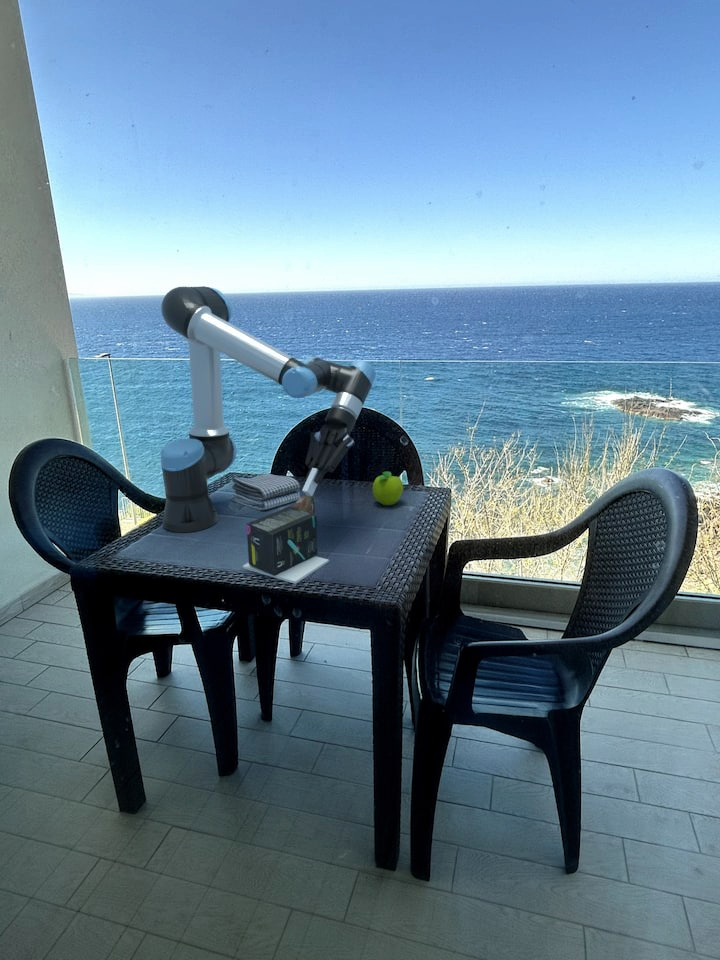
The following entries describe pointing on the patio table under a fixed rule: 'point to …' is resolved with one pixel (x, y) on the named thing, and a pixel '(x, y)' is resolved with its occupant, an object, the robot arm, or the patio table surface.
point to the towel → (265, 491)
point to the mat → (294, 570)
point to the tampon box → (282, 540)
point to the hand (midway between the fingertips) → (307, 493)
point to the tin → (305, 504)
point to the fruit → (387, 489)
